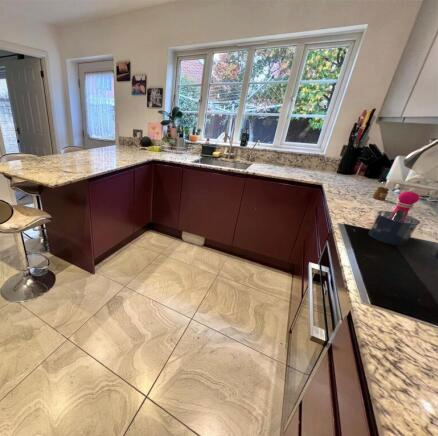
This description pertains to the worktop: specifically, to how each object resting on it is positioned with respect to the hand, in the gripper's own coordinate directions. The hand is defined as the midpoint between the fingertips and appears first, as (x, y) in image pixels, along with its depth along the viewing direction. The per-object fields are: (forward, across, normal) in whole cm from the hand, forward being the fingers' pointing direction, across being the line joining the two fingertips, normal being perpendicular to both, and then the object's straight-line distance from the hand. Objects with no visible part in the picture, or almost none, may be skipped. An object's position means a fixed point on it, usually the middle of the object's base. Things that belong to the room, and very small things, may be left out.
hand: (413, 190), depth 105 cm
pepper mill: (+12, 0, +17) cm, 21 cm away
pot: (+24, 0, +17) cm, 29 cm away
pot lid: (+24, 0, +8) cm, 25 cm away
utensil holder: (-46, -13, +17) cm, 51 cm away
